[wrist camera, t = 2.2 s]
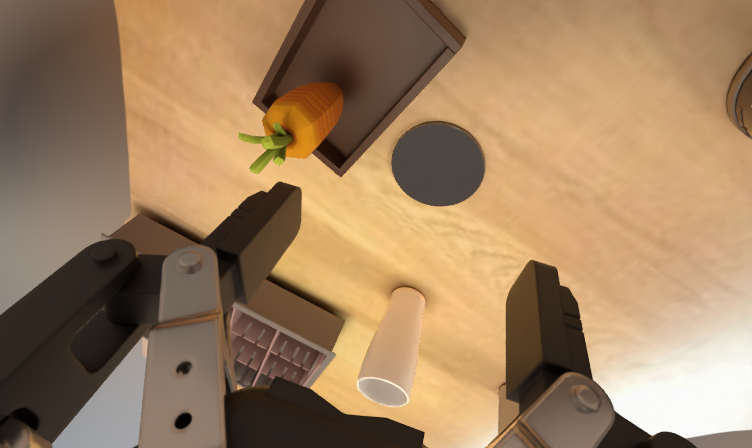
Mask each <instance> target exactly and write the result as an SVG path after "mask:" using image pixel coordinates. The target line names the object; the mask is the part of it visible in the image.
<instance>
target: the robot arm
mask: <svg viewBox="0 0 752 448" xmlns="http://www.w3.org/2000/svg"><path fill="white" fill-rule="evenodd" d="M727 110H728V114H729V117H730V119H731V121H732V122H733V124H734V125H735V126H736V127H737V128H738V129H739V130H740V131H742V132H743V133H744V134H745V135H746V136H748V137H750V138H751V139H752V56H751V57H750V58H749V59H748V60H747V61H746V62H745V64H744V65H743V66H742V67H741V69H740V70H739V72H738V73H737V75H736V77H735V78H734V80H733V82H732V85H731V87H730V90H729V93H728V98H727ZM301 200H302V192H301V188H300V187H296V186H293V185H290V184H287V183H283V182H278V183H276V184H275V185H274V186H273V187H272V189H271V190H270V191H269V192H268V193H267V192H264V191H260V192H258V193H256V194H254V195H251V196H249V197H248V198H247V199H246V200H244V201H243V202H242V203H241V204H240V205H239V206H238V209H237V208H236V209H235V210H234V211H233V212H232V213H231V216H228V217H227V218H226V219H225V220H224V221H223V222H222V223H221V224H220V225H219V226H218V227H217V228H216V229H215V230H214V231H213V232H212V233H211V234H210V235H209V236H208V237H207V238H206V239H205V240H204V241H203V242H202V243H201V244H200V245H188V246H184V247H181V248H179V249H177V250H175V251H173V252H172V253H170V254H169V255H148V254H137V252H136V249H135V247H134V245H133V244H132V243H130V242H128V241H126V240H122V239H109V240H103V241H100V242H97V243H94V244H92V245H90V246H88V247H86V248H85V249H84V250H82V251H81V252H80V253H78V254H77V255H76V256H75V257H73V258H72V259H71V260H70V261H68V262H67V263H66V264H65V265H63V266H62V267H61V268H59V269H58V270H57V271H56V272H54V273H53V274H52V275H51V276H49V277H48V278H47V279H45V280H44V281H43V282H42V283H40V284H39V285H38V286H37V287H35V288H34V289H33V290H32V291H30V292H29V293H28V294H27V295H26V296H24V297H23V298H21V299H20V300H19V301H18V302H16V303H15V304H14V305H13V306H11V307H10V308H9V309H8V310H6V311H5V312H4V313H3V314H2V315H0V448H52V443H53V442H54V441H55V440H56V438H57V437H58V436H59V435H60V434H61V432H62V431H63V430H64V429H65V428H66V427H67V425H68V424H69V423H70V422H71V421H72V419H73V418H74V417H75V416H76V415H77V413H78V412H79V411H80V410H81V409H82V408H83V406H84V405H85V404H86V403H87V402H88V400H89V399H90V398H91V397H92V396H93V394H94V393H95V392H96V391H97V390H98V388H99V387H100V386H101V385H102V384H103V382H104V381H105V380H106V379H107V378H108V376H109V375H110V374H111V373H112V372H113V371H114V369H115V368H116V367H117V366H118V365H119V363H120V362H121V361H122V360H123V359H124V358H125V356H126V355H127V354H128V353H129V352H130V350H131V349H132V348H133V347H134V346H135V345H136V343H137V342H138V341H139V340H140V339H141V337H142V336H143V335H144V334H145V333H146V331H147V330H148V329H149V328H150V327H151V326H152V325H154V326H152V327H151V329H150V332H149V338H148V348H147V359H146V370H145V380H144V390H143V400H142V412H141V422H140V432H139V442H138V445H137V446H135V447H133V448H427V447H426V446H425V445H423V439H424V433H425V432H423V431H420V430H417V429H415V428H412V427H409V426H407V425H404V424H401V423H399V422H396V421H394V420H391V419H388V418H382V417H371V416H359V415H348V414H344V413H342V412H341V411H339V410H338V409H337V408H335V407H334V406H333V405H331V404H330V403H329V402H327V401H326V400H325V399H323V398H322V397H321V396H319V395H318V394H317V393H315V392H314V391H313V390H311V389H309V388H306V387H304V386H301V385H299V384H296V383H293V382H291V381H288V380H285V379H283V378H280V377H277V376H275V378H274V380H273V382H272V384H271V385H270V386H266V385H264V386H252V387H247V388H243V389H240V390H237V383H236V376H235V370H234V362H233V350H232V338H231V327H230V315H229V309H230V308H231V306H232V305H233V304H234V302H235V301H237V302H240V303H242V304H245V305H247V304H248V303H249V301H250V300H251V299H252V297H253V296H254V294H255V293H256V292H257V290H258V289H259V287H260V286H261V285H262V283H263V282H264V280H265V279H266V278H267V276H268V275H269V273H270V272H271V271H272V269H273V268H274V266H275V265H276V264H277V262H278V261H279V259H280V258H281V257H282V255H283V254H284V252H285V251H286V250H287V248H288V247H289V245H290V244H291V243H292V241H293V240H294V238H295V237H296V235H297V234H298V231H299V229H300V225H301ZM101 308H102V309H101ZM100 309H101V310H100ZM99 310H100V311H99ZM98 311H99V312H98ZM97 312H98V313H97ZM96 313H97V314H96ZM95 314H96V315H95ZM94 315H95V316H94ZM93 316H94V317H93ZM92 317H93V318H92ZM91 318H92V319H91ZM90 319H91V320H90ZM89 320H90V321H89ZM88 321H89V322H88ZM87 322H88V323H87ZM86 323H87V324H86ZM85 324H86V325H85ZM84 325H85V326H84ZM83 326H84V327H83ZM82 327H83V328H82ZM582 330H583V328H582V323H581V320H580V313H579V308H578V303H577V301H576V300H575V298H574V296H573V295H572V293H571V291H570V290H569V288H567V287H564V286H561V285H560V283H559V277H558V271H557V268H556V267H554V266H551V265H547V264H544V263H541V262H538V261H534V260H530V261H529V262H528V263H527V265H526V266H525V268H524V269H523V271H522V272H521V274H520V275H519V277H518V278H517V280H516V282H515V283H514V285H513V286H512V288H511V289H510V291H509V294H508V297H507V301H506V399H508V400H510V401H513V402H516V403H519V414H518V415H517V416H516V417H515V418H514V419H513V420H512V421H511V422H510V423H509V424H508V425H507V426H506V427H505V428H504V429H503V430H502V431H501V432H500V433H499V434H498V435H497V436H496V437H495V438H494V439H493V440H492V441H491V442H490V443H489V444H488V445H487V446H486V447H485V448H696V446H694V445H693V444H692V443H691V442H689V441H688V440H686V439H685V438H683V437H681V436H679V435H677V434H675V433H672V432H660V433H657V434H655V435H653V436H651V435H650V434H648V433H647V432H645V431H643V430H642V429H640V428H639V427H637V426H636V425H634V424H633V423H631V422H630V421H628V420H627V419H625V418H624V417H622V416H621V415H619V414H618V413H617V412H615V411H614V408H613V405H612V402H611V400H610V398H609V397H608V395H607V394H606V393H605V391H604V390H603V389H602V388H601V387H600V386H599V385H598V384H597V383H596V382H595V381H593V378H592V373H591V368H590V363H589V358H588V353H587V348H586V343H585V338H584V333H583V332H582Z"/></svg>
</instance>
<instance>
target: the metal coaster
mask: <svg viewBox="0 0 752 448" xmlns="http://www.w3.org/2000/svg"><path fill="white" fill-rule="evenodd" d="M392 171H393V174H394V177H395V180H396V182H397V183H398V185H399V186H400V188H401V189H402V190H403V191H404V192H405V193H406V194H407V195H409V196H410V197H411V198H413V199H414V200H416V201H418V202H421V203H423V204H427V205H431V206H450V205H454V204H457V203H460V202H462V201H464V200H466V199H467V198H469V197H470V196H471V195H473V194H474V192H475V191H476V190H477V189H478V188H479V186H480V184H481V182H482V180H483V177H484V172H485V159H484V155H483V152H482V149H481V147H480V145H479V144H478V142H477V141H476V140H475V139H474V138H473V136H471V135H470V134H469V133H468V132H466V131H465V130H463V129H462V128H460V127H458V126H455V125H452V124H449V123H444V122H430V123H424V124H421V125H418V126H416V127H414V128H412V129H411V130H409V131H408V132H406V133H405V134H404V135H403V136H402V137H401V138H400V140H399V141H398V143H397V145H396V146H395V149H394V151H393V155H392Z"/></svg>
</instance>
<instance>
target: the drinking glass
mask: <svg viewBox="0 0 752 448" xmlns="http://www.w3.org/2000/svg"><path fill="white" fill-rule="evenodd" d="M425 305H426V302H425V298H424V297H423V295H422V294H421V293H420V292H418V291H417V290H415V289H412V288H408V287H401V288H398V289H396V290H394V291H393V293H392V294H391V297H390V300H389V303H388V305H387V308H386V310H385V312H384V314H383V317H382V319H381V321H380V323H379V325H378V328H377V330H376V332H375V334H374V336H373V339H372V341H371V343H370V345H369V347H368V350H367V352H366V355H365V357H364V360H363V363H362V366H361V369H360V372H359V376H358V379H357V383H356V384H357V388H358V390H359V391H360V392H361V393H362V394H363V395H364V396H365V397H367V398H368V399H370V400H372V401H374V402H376V403H378V404H381V405H385V406H390V407H401V406H404V405H406V404H407V403H408V402H409V399H410V395H411V392H412V388H413V384H414V379H415V374H416V369H417V362H418V354H419V346H420V338H421V330H422V322H423V315H424V310H425Z"/></svg>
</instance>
